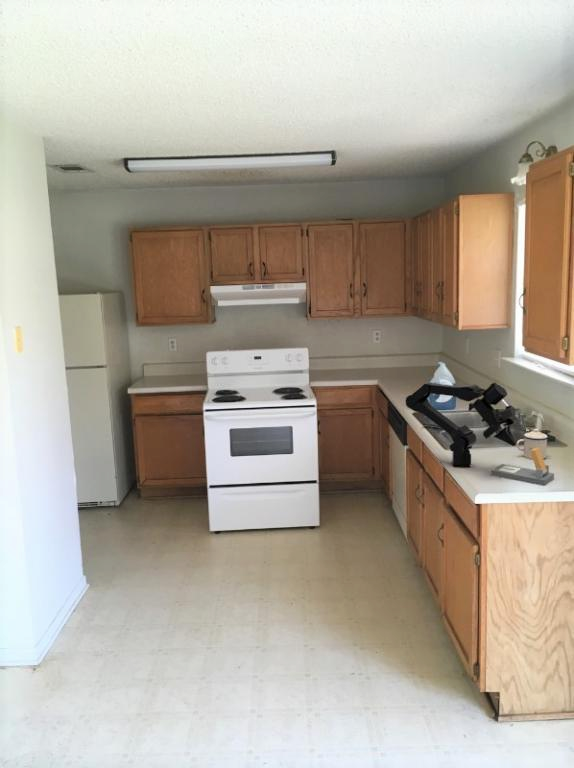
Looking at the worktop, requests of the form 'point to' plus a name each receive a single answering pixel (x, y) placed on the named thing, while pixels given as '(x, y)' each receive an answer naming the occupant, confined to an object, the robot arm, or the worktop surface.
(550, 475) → the switch panel
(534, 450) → the orange lever
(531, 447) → the teacup with lid
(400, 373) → the worktop surface
